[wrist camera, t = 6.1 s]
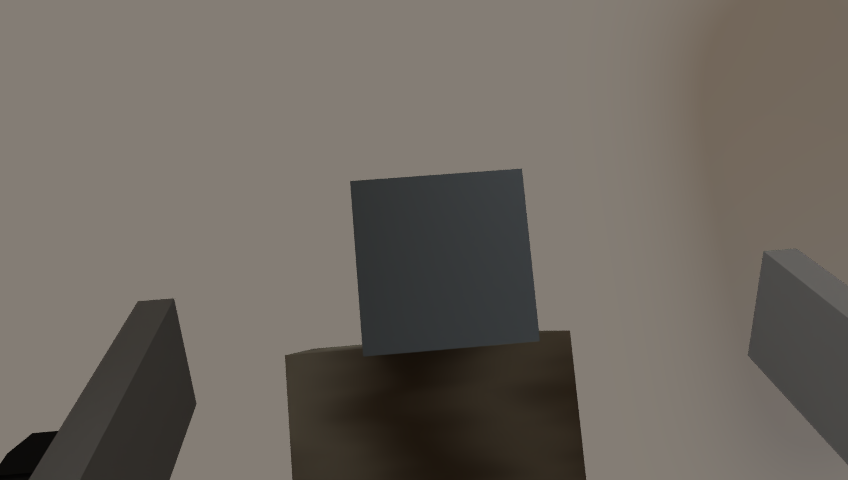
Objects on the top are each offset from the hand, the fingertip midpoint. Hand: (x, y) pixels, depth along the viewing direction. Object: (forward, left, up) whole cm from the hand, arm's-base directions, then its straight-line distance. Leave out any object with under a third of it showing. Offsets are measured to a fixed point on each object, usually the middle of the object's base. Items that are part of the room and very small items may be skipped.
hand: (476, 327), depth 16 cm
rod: (-1, +12, 0) cm, 12 cm away
